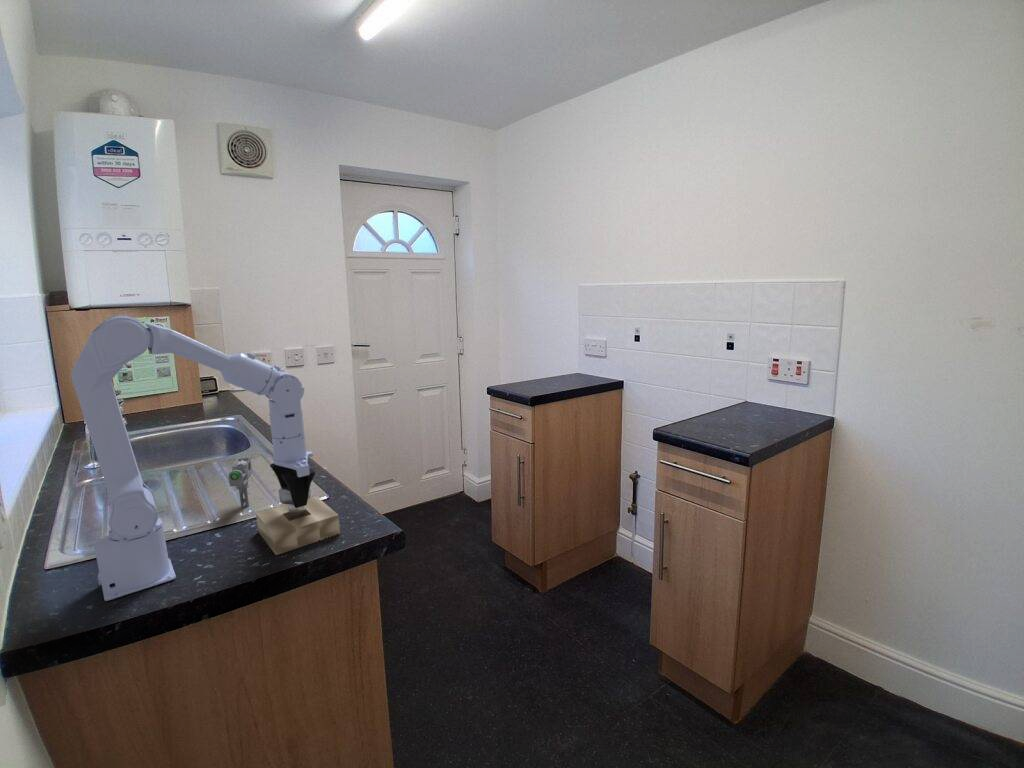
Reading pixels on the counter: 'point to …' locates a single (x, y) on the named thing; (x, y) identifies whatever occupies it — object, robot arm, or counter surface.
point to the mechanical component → (241, 477)
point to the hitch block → (297, 526)
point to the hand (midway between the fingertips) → (295, 501)
